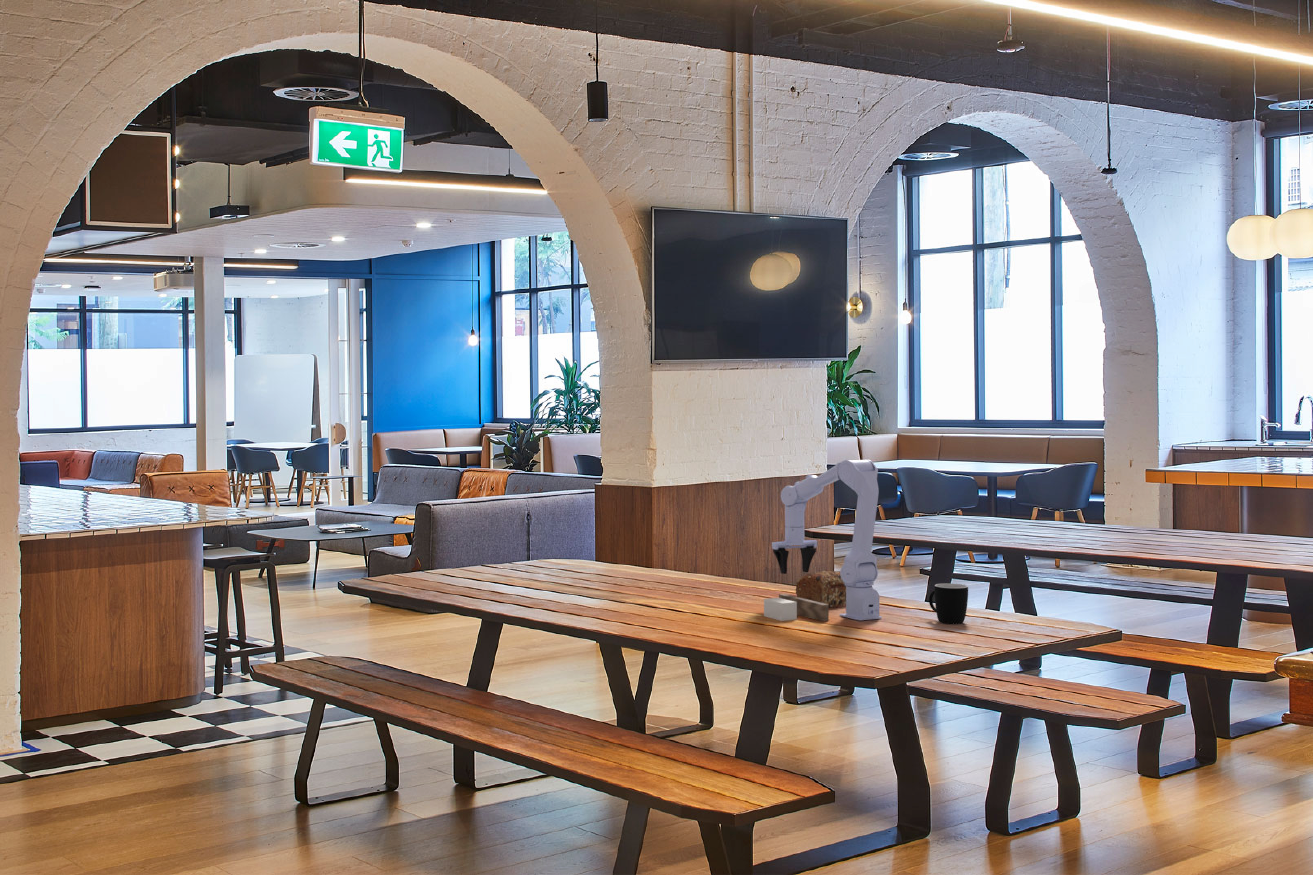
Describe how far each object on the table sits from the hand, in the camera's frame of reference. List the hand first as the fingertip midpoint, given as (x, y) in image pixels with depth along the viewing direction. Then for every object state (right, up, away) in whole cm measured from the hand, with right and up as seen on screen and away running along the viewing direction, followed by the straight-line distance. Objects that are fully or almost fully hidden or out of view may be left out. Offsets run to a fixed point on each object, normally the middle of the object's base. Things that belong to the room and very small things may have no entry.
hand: (794, 572), depth 377 cm
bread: (+10, -10, +5) cm, 16 cm away
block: (-6, -11, -19) cm, 23 cm away
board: (+1, -10, -15) cm, 18 cm away
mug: (+39, -11, -26) cm, 48 cm away
